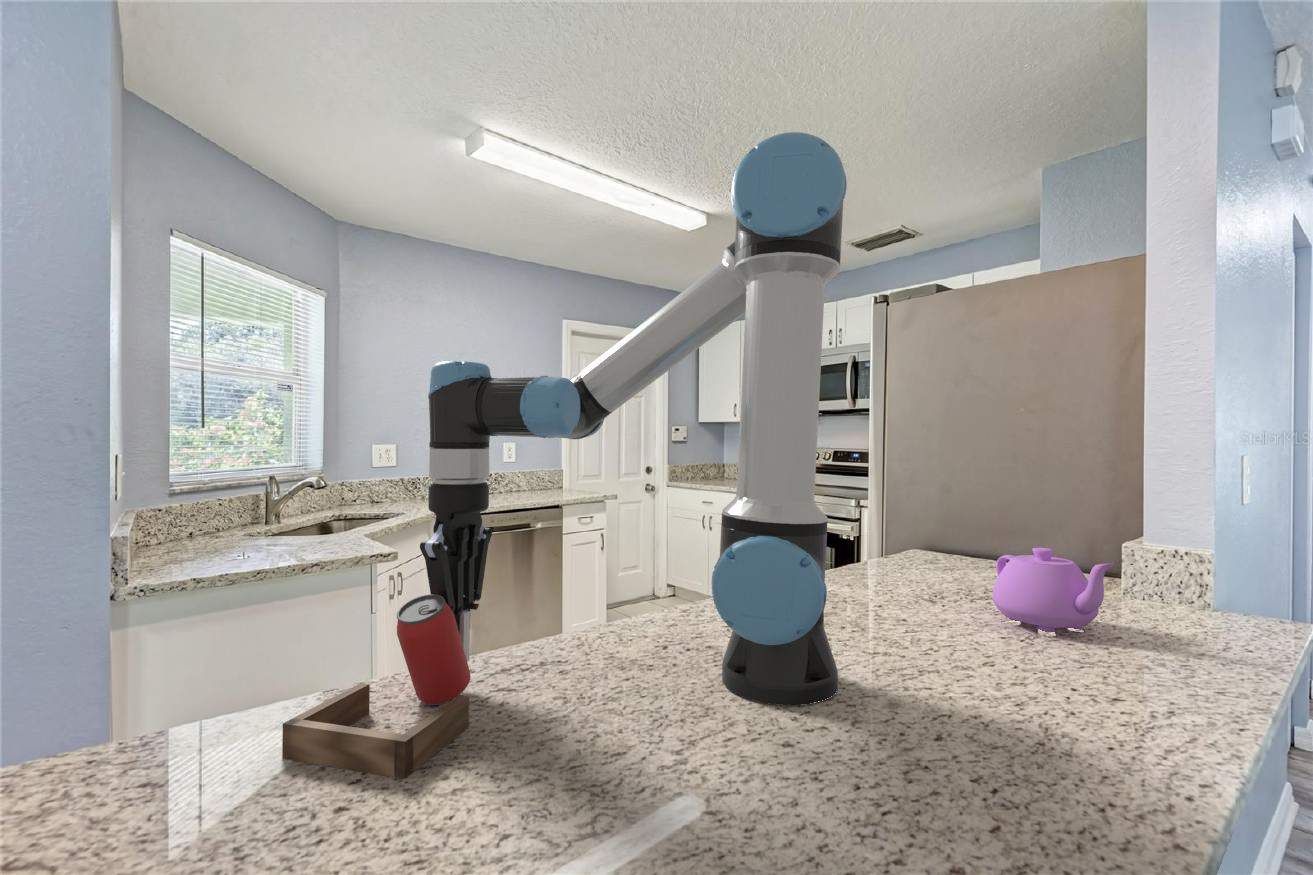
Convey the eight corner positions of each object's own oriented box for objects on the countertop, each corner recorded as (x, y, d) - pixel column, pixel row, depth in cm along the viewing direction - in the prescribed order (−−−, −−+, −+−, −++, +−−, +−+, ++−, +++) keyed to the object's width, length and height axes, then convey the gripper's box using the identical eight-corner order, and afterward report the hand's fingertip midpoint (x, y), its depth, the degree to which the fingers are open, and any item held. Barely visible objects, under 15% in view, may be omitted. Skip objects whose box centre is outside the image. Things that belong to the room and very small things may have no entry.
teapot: (1148, 643, 97) (1147, 558, 97) (1077, 653, 92) (1076, 563, 92) (1026, 608, 118) (1025, 538, 118) (963, 615, 113) (962, 542, 113)
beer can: (457, 708, 72) (433, 624, 68) (407, 707, 73) (380, 625, 69) (480, 669, 78) (459, 590, 74) (433, 669, 79) (410, 591, 75)
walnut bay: (468, 727, 67) (468, 696, 67) (404, 779, 57) (405, 741, 57) (360, 712, 71) (361, 682, 71) (282, 758, 61) (282, 723, 61)
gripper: (462, 476, 86) (461, 641, 86) (401, 483, 73) (399, 676, 74) (509, 478, 84) (508, 647, 84) (455, 486, 71) (453, 684, 71)
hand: (457, 660), depth 79 cm, fingers closed
